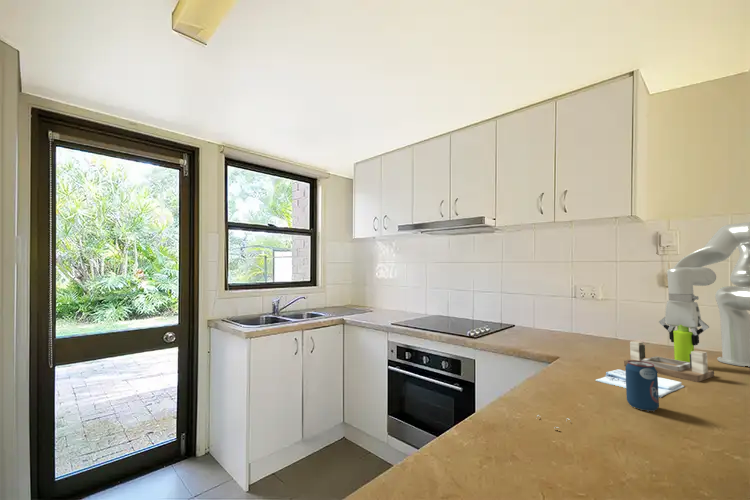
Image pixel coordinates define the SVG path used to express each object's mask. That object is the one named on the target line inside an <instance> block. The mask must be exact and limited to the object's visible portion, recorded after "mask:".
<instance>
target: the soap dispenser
mask: <svg viewBox="0 0 750 500" xmlns="http://www.w3.org/2000/svg"><path fill="white" fill-rule="evenodd" d="M676 327H677V328H676V330H674V331H673V333H674V342H673V353H674V354H673V356H674V358H673V359H674V360H679V361H685V362H690V354H691V352H692V351H695V345H692V335H693V332H692V331H690V328H689V327H684V326H683V325H680V326H676Z"/></svg>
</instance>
